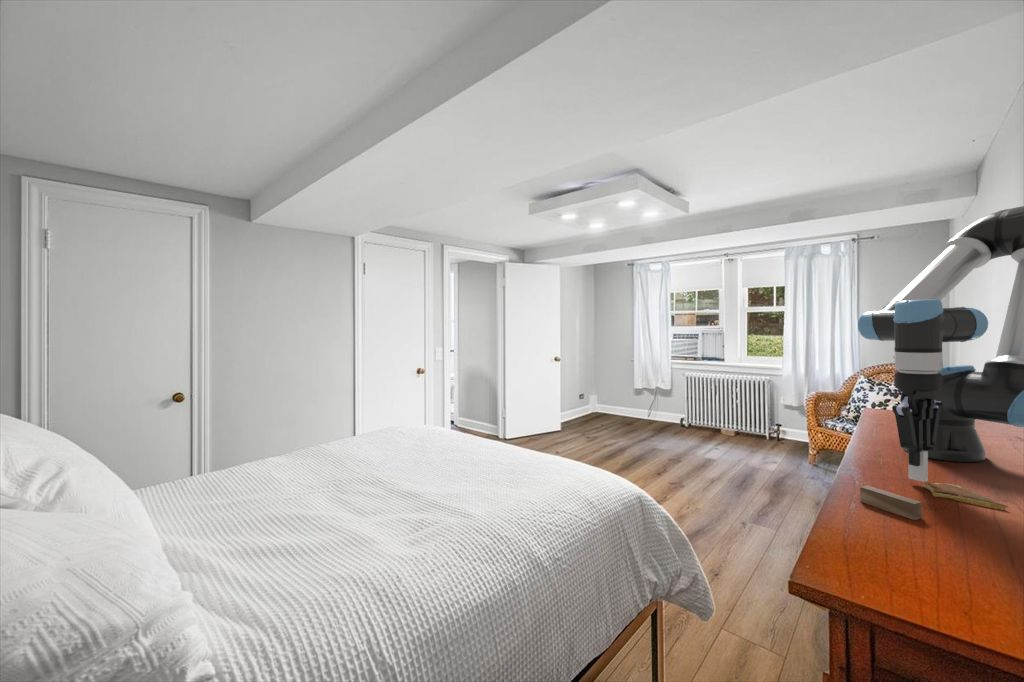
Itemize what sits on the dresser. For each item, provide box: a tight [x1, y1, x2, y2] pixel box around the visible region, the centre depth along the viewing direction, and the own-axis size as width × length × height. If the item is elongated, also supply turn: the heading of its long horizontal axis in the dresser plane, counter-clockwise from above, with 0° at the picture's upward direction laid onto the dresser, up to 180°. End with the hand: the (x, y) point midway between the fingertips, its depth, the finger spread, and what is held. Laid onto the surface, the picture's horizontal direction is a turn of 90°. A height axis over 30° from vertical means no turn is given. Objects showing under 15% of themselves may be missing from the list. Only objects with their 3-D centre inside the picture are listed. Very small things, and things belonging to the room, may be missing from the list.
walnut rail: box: [859, 485, 923, 521], centre depth 82 cm, size 2×9×3 cm, turn 19°
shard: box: [922, 482, 1009, 511], centre depth 85 cm, size 11×8×2 cm
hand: (918, 479), depth 93 cm, fingers closed
